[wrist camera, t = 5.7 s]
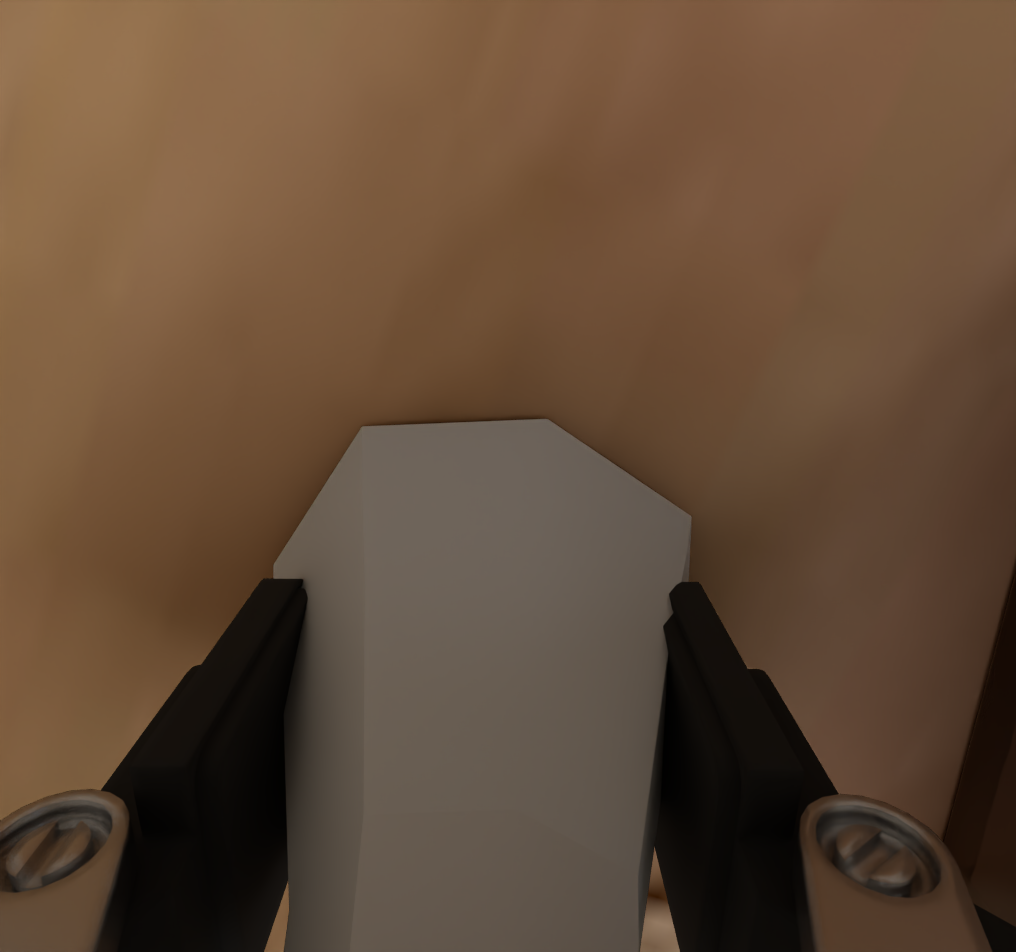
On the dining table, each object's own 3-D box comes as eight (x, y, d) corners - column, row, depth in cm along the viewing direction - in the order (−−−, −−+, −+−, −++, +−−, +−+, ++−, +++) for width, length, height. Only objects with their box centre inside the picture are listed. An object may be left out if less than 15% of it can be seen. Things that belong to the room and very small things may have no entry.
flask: (615, 814, 14) (860, 2108, 4) (244, 729, 13) (-453, 2037, 4) (759, 474, 11) (1953, 1597, 2) (320, 351, 11) (-990, 1161, 1)
